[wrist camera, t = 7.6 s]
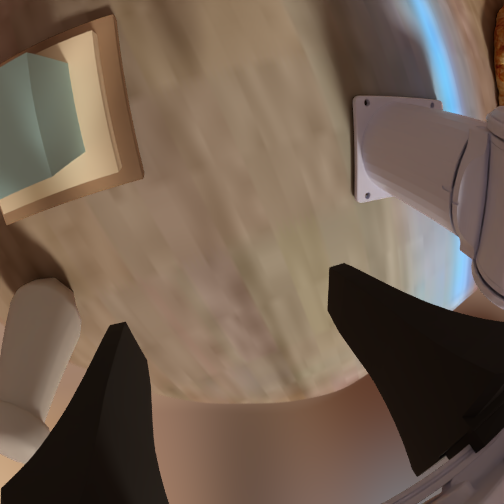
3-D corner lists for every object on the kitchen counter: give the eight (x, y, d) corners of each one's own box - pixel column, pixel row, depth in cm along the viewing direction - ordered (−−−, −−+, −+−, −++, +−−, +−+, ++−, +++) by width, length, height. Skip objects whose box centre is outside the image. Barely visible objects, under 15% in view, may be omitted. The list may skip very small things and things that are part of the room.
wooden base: (116, 19, 11) (109, 8, 9) (144, 173, 17) (141, 184, 15) (-21, 83, 10) (-40, 84, 8) (13, 218, 15) (-1, 233, 13)
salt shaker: (11, 269, 16) (-57, 415, 6) (73, 262, 18) (22, 433, 7) (37, 328, 19) (4, 467, 8) (95, 324, 21) (81, 480, 10)
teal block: (67, 63, 10) (26, 52, 6) (85, 151, 13) (52, 176, 9) (-7, 100, 9) (-60, 110, 5) (12, 181, 12) (-33, 216, 8)
